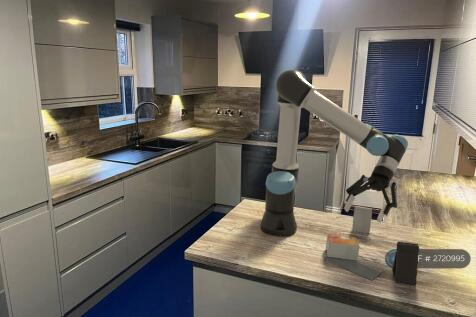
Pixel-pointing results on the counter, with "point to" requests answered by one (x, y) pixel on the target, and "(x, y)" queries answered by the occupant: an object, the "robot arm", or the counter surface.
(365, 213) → the white tea box
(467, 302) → the counter surface
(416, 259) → the phone stand
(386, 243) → the counter surface
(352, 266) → the slate mat
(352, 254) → the small box
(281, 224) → the robot arm
